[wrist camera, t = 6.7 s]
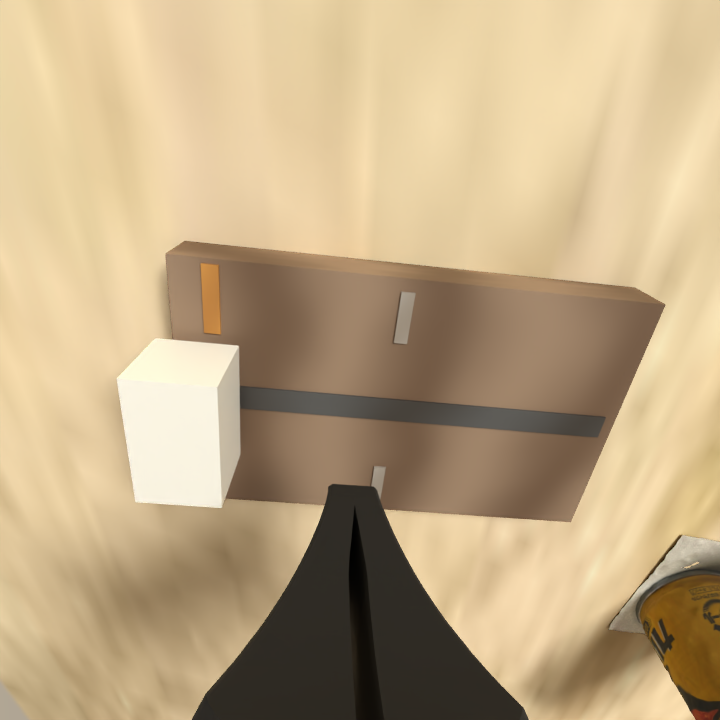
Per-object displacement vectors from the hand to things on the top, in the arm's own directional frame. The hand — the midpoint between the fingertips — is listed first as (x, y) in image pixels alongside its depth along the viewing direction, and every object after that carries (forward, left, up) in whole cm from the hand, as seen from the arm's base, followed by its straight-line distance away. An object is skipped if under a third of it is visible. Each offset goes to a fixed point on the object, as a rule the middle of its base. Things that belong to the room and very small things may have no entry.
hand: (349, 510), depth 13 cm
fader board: (+2, 0, -8) cm, 8 cm away
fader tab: (-6, 0, -5) cm, 8 cm away
